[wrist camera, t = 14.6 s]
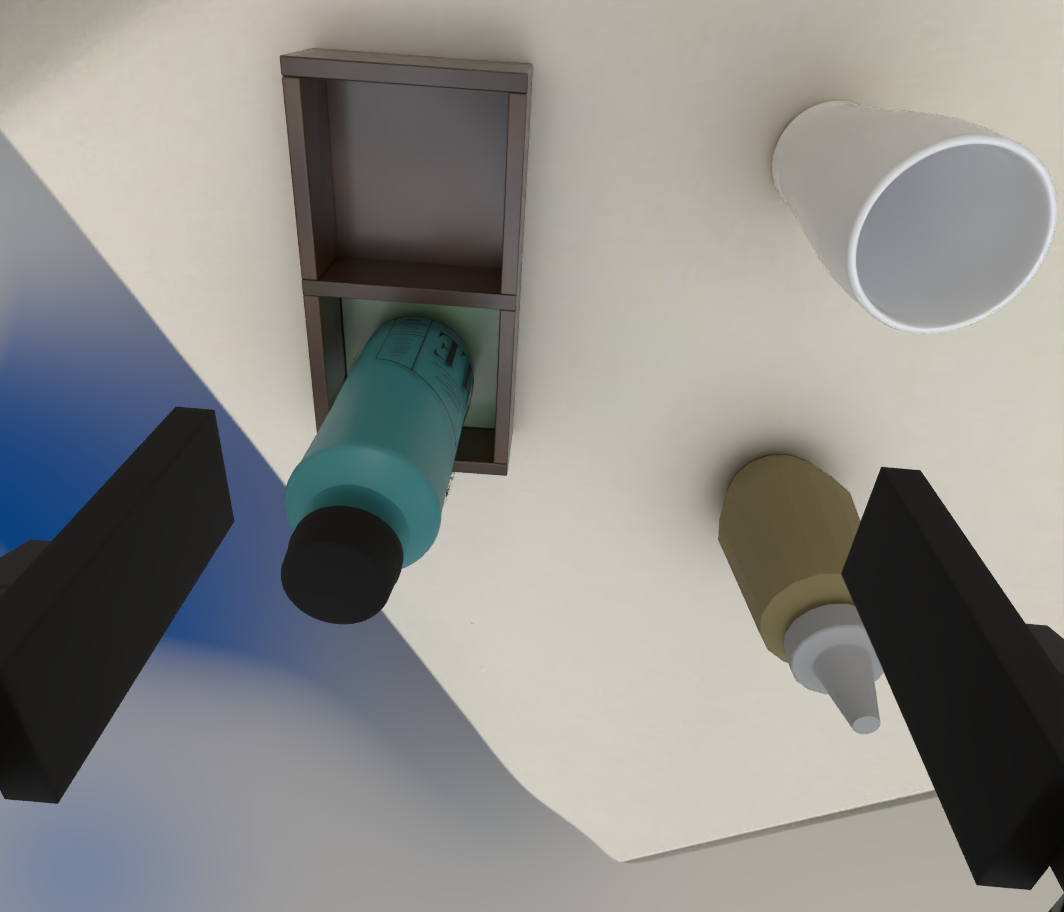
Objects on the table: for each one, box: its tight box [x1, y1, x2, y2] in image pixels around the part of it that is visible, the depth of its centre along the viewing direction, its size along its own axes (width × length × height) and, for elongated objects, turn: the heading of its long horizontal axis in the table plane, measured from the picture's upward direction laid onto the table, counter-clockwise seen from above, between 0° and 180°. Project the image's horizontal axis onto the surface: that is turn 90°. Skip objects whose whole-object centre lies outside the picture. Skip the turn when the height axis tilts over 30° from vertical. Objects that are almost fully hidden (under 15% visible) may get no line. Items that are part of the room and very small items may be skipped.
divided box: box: [280, 48, 533, 476], centre depth 40 cm, size 20×11×5 cm, turn 176°
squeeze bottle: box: [718, 455, 884, 734], centre depth 41 cm, size 8×8×18 cm
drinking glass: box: [772, 100, 1058, 334], centre depth 32 cm, size 7×7×15 cm
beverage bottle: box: [281, 316, 476, 624], centre depth 35 cm, size 6×7×20 cm
